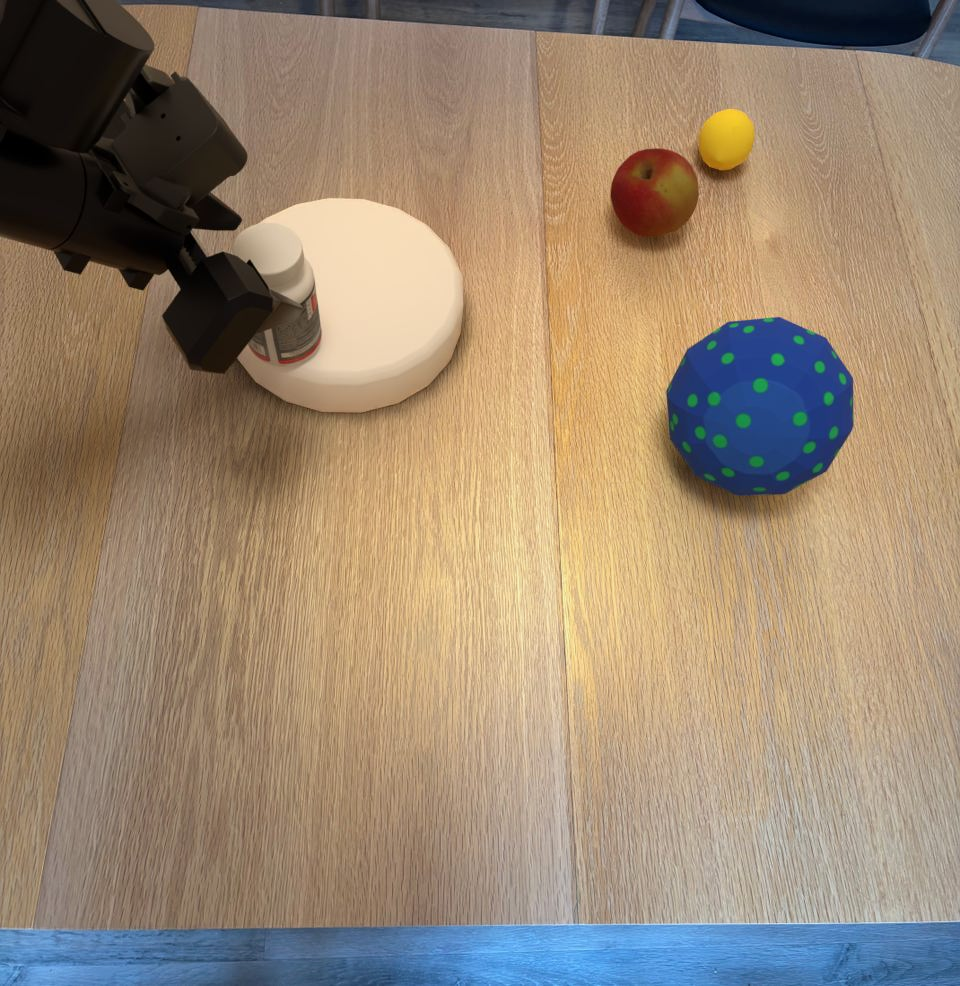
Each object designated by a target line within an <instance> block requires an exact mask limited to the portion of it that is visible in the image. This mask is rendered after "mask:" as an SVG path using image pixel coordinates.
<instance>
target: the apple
mask: <svg viewBox="0 0 960 986" xmlns="http://www.w3.org/2000/svg"><path fill="white" fill-rule="evenodd" d="M699 193H700V191H699V182H698V177H697V174H696V172H695V169H694V168H693V166H692V164H691V163H690V162H689V161H688V159H686V158H685V157H684V156H683V155H681V154H680V153H678V152H676V151H673V150H670V149H667V148H655V147H654V148H645V149H641V150H638V151H636V152H634V153H631V154H630V155H629V156H628V157H627V158H626V159H625V160H624V161H623V162H621V164H620V165H619V167H618V168H617V170H616V171H615V174H614V175H613V177H612V181H611V185H610V193H609V194H610V200H611V205H612V208H613V211H614V213H615V216H616V218H617V219H618V220H619V222H620V224H621V225H622V226H624V228H625V229H627V231H628V230H629V232H631V233H632V234H635V235H637V236H640V237H643V238H644V237H645V238H656V237H660V236H661V237H662V236H664V235H668V234H672V233H674V232H676V231H678V230H679V229H681V228H682V227H684V226H685V224H687V222H688V221H689V220H690V219H691V217H692V216H693V214H694V213H695V210H696V208H697V206H698V203H699V195H700V194H699Z"/></svg>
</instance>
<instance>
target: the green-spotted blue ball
mask: <svg viewBox="0 0 960 986" xmlns="http://www.w3.org/2000/svg"><path fill="white" fill-rule="evenodd" d="M665 392H666V407H667V419H668V421H667V422H668V431H669V433H668V434H669V440H670V442H671V444H672V445H673V446H674V448H675V449H676V451H677V452H678V454H679V455H680V456H681V458H682V459H683V461H684V462H685V463H686V465H687V466H688V467H689V469H690V470H691V472H692V473H693V474H694V476H695V477H696V478H699V479H701V480H703V481H705V482H707V483H709V484H711V485H714V486H715V487H718V488H720V489H722V490H724V491H725V492H728V493H730V494H731V495H734V496H737V497H741V496H742V497H743V496H780V495H781V496H782V495H787V494H788V493H790V492H792V491H794V490H795V489H797V488H799V487H801V486H803V485H804V484H806V483H808V482H810V481H812V480H814V479H815V478H817V477H819V476H821V475H822V474H825V473H827V472H828V470H829V469H830V467H831V466H832V464H833V462H834V461H835V458H836V457H837V455H838V454H839V452H840V451H841V449H842V448H843V446H844V444H845V443H846V441H847V440H848V438H849V437H850V435H851V433H852V432H853V429H854V425H855V423H854V419H855V417H854V416H855V415H854V414H855V413H854V377H853V376H852V374H851V373H850V371H849V369H848V367H847V366H846V365H845V364H844V362H843V361H842V360H841V358H840V356H839V355H838V353H837V352H836V351H835V348H834V347H833V346H832V344H831V343H830V341H829V340H828V338H827V337H825V336H824V335H821V334H819V333H817V332H814V331H812V330H811V329H808V328H805V327H803V326H801V325H799V324H796V323H794V322H793V321H789V320H787V319H785V318H784V317H781V316H773V317H764V318H762V317H761V318H752V319H744V320H743V319H742V320H741V319H740V320H731V321H727V322H725V323H723V325H721V326H720V327H718V328H716V329H715V330H713V331H712V332H710V333H709V334H708V335H706V336H704V337H703V338H702V339H700V340H699V341H697V342H696V343H694V344H693V345H691V346H690V347H688V348H687V349H686V351H685V352H684V354H683V356H682V359H681V361H680V362H679V364H678V366H677V368H676V371H675V372H674V374H673V377H672V378H671V381H670V382H669V385H668V386H667V388H666V391H665Z"/></svg>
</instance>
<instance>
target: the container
mask: <svg viewBox="0 0 960 986" xmlns="http://www.w3.org/2000/svg"><path fill="white" fill-rule="evenodd" d="M260 223H276V224H280V225H283V226H286V227H288V228H290V229H291V230H293V231H294V232H295V233H296V234H297V235H298V237H299V238H300V240H301V243H302V247H303V252H304V257H305V258H306V259H307V260H308V262H309V263H310V265H311V267H312V270H313V274H314V279H315V286H316V294H317V301H318V308H319V315H320V324H321V330H322V337H321V342H320V345H319V347H318V349H317V350H316V352H315V353H314V354H313V355H312V356H311V357H310V358H308V359H307V360H305V361H304V362H302V363H299V364H296V365H292V366H275V365H271V364H268V363H265V362H263V361H262V360H260V359H259V358H257V357H256V356H255V355H254V354H253V352H252V351H251V349H250V348H249V345H248V344H247V346H246V347H245V348H244V349H243V351H242V352H241V353H240V355H239V356H238V357H237V358H236V360H238V361H239V363H240V364H241V366H242V367H243V368H244V370H245V371H246V372H247V373H248V374H249V376H250V377H251V378H252V380H253V381H254V382H255V383H256V384H257V385H259V386H261V387H262V388H264V389H265V390H267V391H269V392H270V393H272V394H273V395H275V396H276V397H278V398H279V399H281V400H283V401H284V402H287V403H290V404H293V405H296V406H299V407H304V408H308V409H311V410H314V411H317V412H320V413H355V414H356V413H366V412H370V411H373V410H378V409H381V408H385V407H389V406H393V405H397V404H399V403H401V402H403V401H405V400H407V399H408V398H410V397H411V396H413V395H415V394H416V393H419V392H420V391H422V390H423V389H425V388H427V387H429V386H430V385H431V383H433V381H434V380H435V379H436V378H437V377H438V376H439V375H440V374H441V373H442V371H443V370H444V369H445V368H446V367H447V366H448V364H449V363H450V362H451V360H452V357H453V355H454V352H455V350H456V347H457V345H458V342H459V339H460V336H461V334H462V333H461V332H462V323H463V314H464V279H463V278H464V277H463V273H462V272H461V269H460V268H459V265H458V263H457V261H456V258H455V256H454V254H453V252H452V250H451V248H450V247H449V246H448V245H447V244H446V242H444V241H443V240H442V239H441V238H440V237H439V235H437V233H435V232H434V230H433V229H432V228H431V227H430V226H429V225H428V224H427V223H425V222H423V221H421V220H419V219H417V218H416V217H414V216H412V215H410V214H409V213H407V212H405V211H404V210H402V209H400V208H398V207H394V206H390V205H387V204H383V203H381V202H376V201H373V200H369V199H365V198H345V197H344V198H343V197H342V198H341V197H327V198H322V199H317V200H312V201H306V202H301V203H296V204H294V205H292V206H289V207H287V208H285V209H282V210H281V211H277V212H276V213H274V214H272V215H270V216H267V217H265V218H264V219H263V220H261V221H260V222H259V223H258V224H260ZM231 254H232V255H233V253H232V252H231Z"/></svg>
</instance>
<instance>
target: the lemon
mask: <svg viewBox="0 0 960 986" xmlns="http://www.w3.org/2000/svg"><path fill="white" fill-rule="evenodd" d="M755 139H756V134H755V124H754V123H753V122H752V120H751V119H750V117H749V115H747V114H746V113H745V112H743V111H741V110H739V109H734V108H726V109H723V110H719V111H717V112H715V113H713V114H712V115H711V116H710V117H709V118H707V120H705V121H704V123H703V125H702V127H701V129H700V132H699V133H698V150H699V153H700V156H701V159H702V161H703V162H704V163H705V164H706V165H707V166H708V167H709V168H712V169H716V170H718V171H728V170H732V169H733V168H735V167H737V166H739V165H741V164H743V163H745V161H746V159H748V157H749V155H750V153H752V150H753V147H754V143H755Z"/></svg>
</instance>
